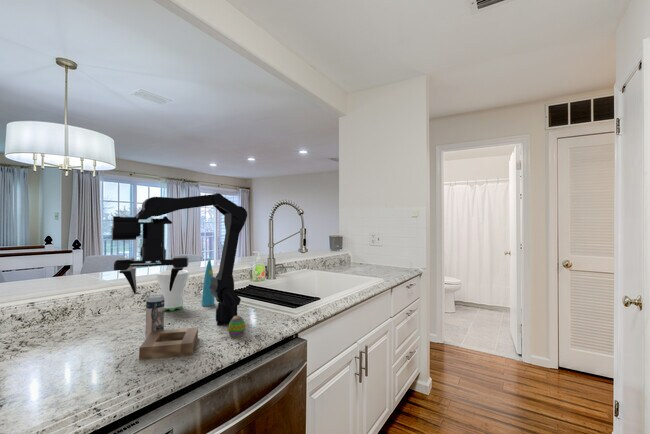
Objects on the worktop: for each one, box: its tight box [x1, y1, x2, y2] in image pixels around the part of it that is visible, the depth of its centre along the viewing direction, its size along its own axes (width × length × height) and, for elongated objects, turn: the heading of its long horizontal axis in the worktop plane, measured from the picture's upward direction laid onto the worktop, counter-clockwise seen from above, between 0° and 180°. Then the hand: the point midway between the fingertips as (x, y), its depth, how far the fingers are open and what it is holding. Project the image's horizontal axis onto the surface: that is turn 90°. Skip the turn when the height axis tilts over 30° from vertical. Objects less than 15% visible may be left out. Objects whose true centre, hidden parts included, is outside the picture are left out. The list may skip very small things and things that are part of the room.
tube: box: [201, 256, 215, 307], centre depth 125 cm, size 7×5×19 cm, turn 26°
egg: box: [227, 314, 246, 339], centre depth 92 cm, size 5×5×6 cm
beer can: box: [144, 294, 165, 339], centre depth 89 cm, size 5×5×12 cm
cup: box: [155, 269, 190, 312], centre depth 119 cm, size 11×11×14 cm
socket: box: [138, 327, 199, 361], centre depth 82 cm, size 12×12×3 cm
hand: (153, 292), depth 91 cm, fingers open, 9 cm apart
